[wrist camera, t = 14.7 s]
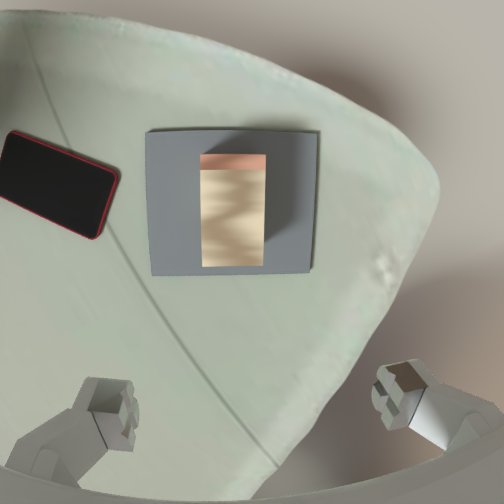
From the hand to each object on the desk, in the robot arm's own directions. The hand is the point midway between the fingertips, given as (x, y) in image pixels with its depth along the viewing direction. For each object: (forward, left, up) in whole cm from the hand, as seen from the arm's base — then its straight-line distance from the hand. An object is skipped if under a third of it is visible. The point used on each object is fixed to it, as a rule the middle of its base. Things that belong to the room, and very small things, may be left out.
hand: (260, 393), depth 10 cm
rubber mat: (0, +2, -23) cm, 23 cm away
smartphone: (-19, +5, -24) cm, 31 cm away
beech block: (0, -2, -20) cm, 20 cm away
